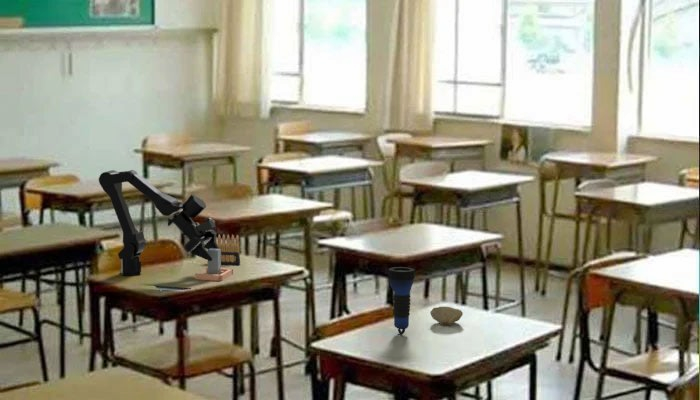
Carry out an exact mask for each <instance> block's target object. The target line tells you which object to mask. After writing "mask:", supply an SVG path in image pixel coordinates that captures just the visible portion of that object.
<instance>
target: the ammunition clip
mask: <svg viewBox="0 0 700 400" xmlns="http://www.w3.org/2000/svg"><path fill="white" fill-rule="evenodd" d="M235 237H236V238H235ZM216 244H217V246H218V248H219V249H221V254H222V255H221V266H240V265H241V255H240V237H239V235H238V234H236V236H235V235H234V233H232V234H231V238H230V234H229V233H228V234H227V236H226V235H225V234H224V233H223V234H222V237H221V234H220V233H219V234H218V237H217V240H216Z"/></svg>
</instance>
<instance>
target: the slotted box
mask: <svg viewBox="0 0 700 400" xmlns="http://www.w3.org/2000/svg"><path fill="white" fill-rule="evenodd" d="M232 275H234V269H233V268H222V267H221V274H220V275H219V274H208V266H207V267H206V268H205V273H198V272H197V273H195V275H194V279H195V280H203V281H217V282H219V281H220V282H222V281H224V280H225V279H227V278H229V277H231V276H232Z"/></svg>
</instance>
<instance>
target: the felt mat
mask: <svg viewBox="0 0 700 400" xmlns="http://www.w3.org/2000/svg"><path fill="white" fill-rule="evenodd" d="M155 286H156V287H157V288H158V289H159V290H160V291H159V290H158V289H157V288H156V287H155V288H156V289H157V290H158V291H159V292H163V291H162V290H173V291H185V290H187V291H188V290H191V289H192V288H191V287H179V286H178V287H177V286H166V285H155Z"/></svg>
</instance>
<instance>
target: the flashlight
mask: <svg viewBox="0 0 700 400" xmlns="http://www.w3.org/2000/svg"><path fill="white" fill-rule="evenodd" d="M387 271H388V277H387V278H388V281H389V286H390V288H391V290H392V291H393V293H394V294H393V295H392V296H393V298H392V300H393V303H392V305H393V306H392V307H393V309H392V311H393V312H392V313H393V324H394V328H396V329H397V332H398V333H399V334H400V335H403V334H405V333H406V329H408V328H409V325H410V324H409V323H410V322H409V321H410V311H411V290H412V287H413V283H414V281H415V276H416V275H415V274H416V269H415V268H412V267H406V266H405V267H403V266H397V267H396V266H394V267H390V268H388V269H387Z"/></svg>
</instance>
